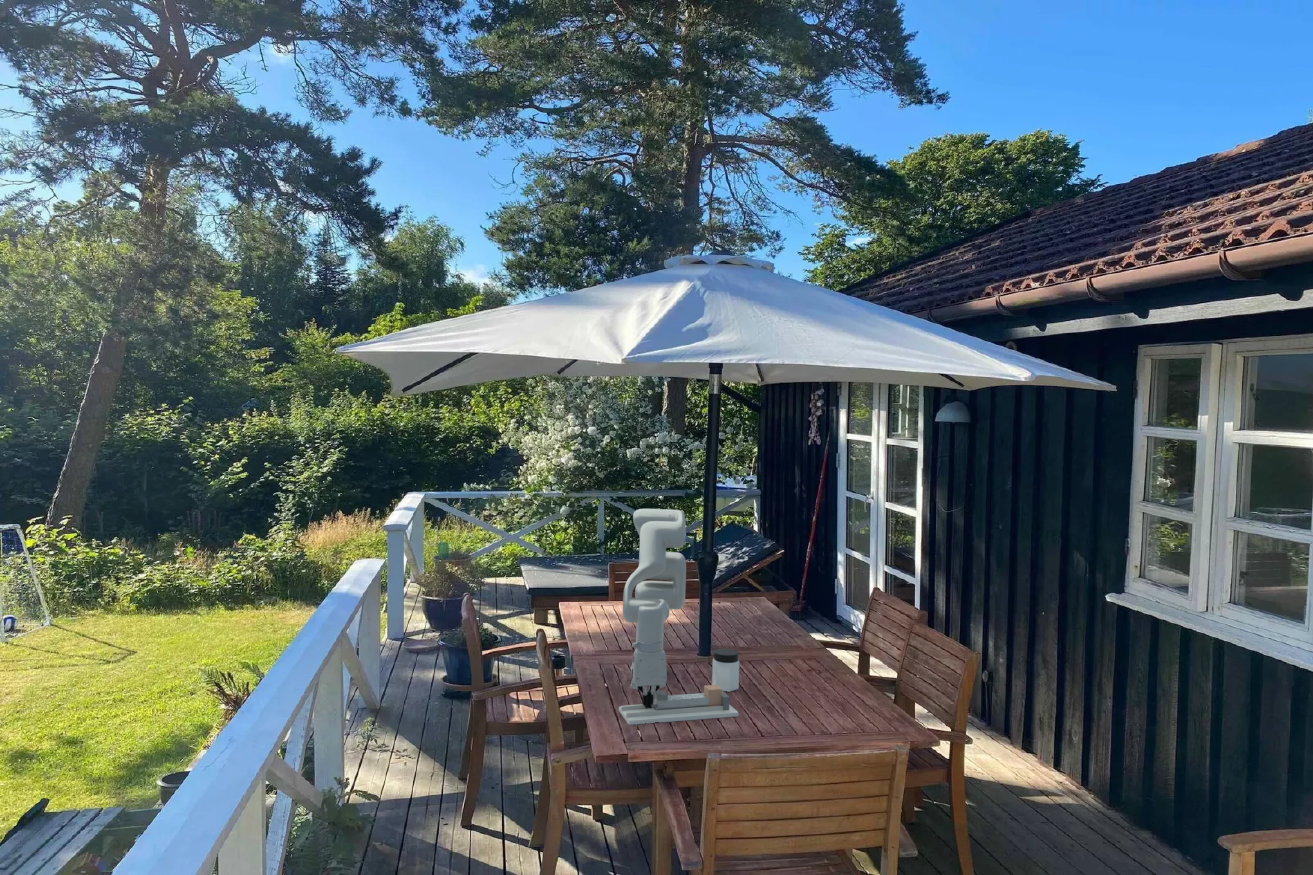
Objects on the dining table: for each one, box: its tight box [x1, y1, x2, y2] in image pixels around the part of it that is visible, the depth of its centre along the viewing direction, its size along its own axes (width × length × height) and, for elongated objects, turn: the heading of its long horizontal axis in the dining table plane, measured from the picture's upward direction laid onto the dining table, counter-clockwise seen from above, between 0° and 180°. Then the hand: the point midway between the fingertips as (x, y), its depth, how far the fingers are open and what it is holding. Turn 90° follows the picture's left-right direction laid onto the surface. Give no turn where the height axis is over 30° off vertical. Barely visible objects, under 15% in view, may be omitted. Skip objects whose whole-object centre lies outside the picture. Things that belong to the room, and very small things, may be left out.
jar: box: [711, 648, 740, 693], centre depth 285 cm, size 9×8×12 cm
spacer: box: [703, 684, 722, 707], centre depth 263 cm, size 4×4×6 cm
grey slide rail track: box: [618, 691, 739, 726], centre depth 259 cm, size 12×34×5 cm, turn 107°
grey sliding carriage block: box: [653, 690, 709, 710], centre depth 259 cm, size 4×16×5 cm, turn 107°
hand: (647, 706), depth 256 cm, fingers closed
